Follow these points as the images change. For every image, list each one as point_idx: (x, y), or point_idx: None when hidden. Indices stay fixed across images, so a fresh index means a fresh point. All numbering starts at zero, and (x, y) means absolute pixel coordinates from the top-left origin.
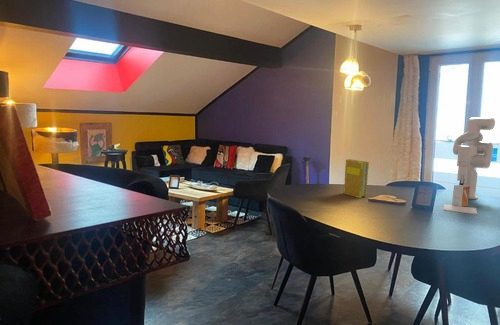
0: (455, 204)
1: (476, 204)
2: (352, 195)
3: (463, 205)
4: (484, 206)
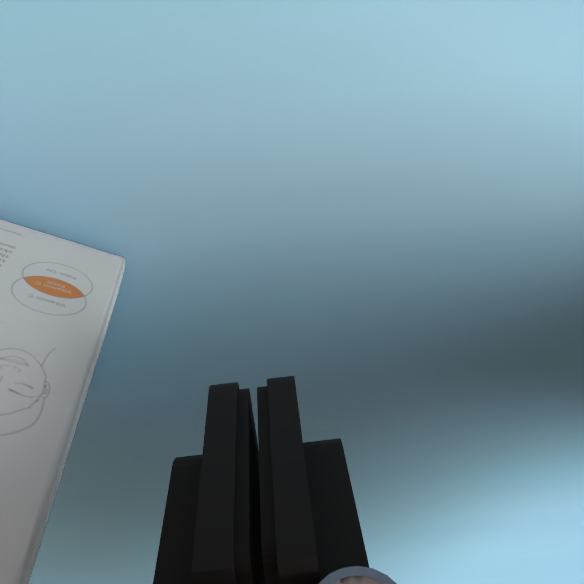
0: None
1: None
2: None
3: None
4: None
